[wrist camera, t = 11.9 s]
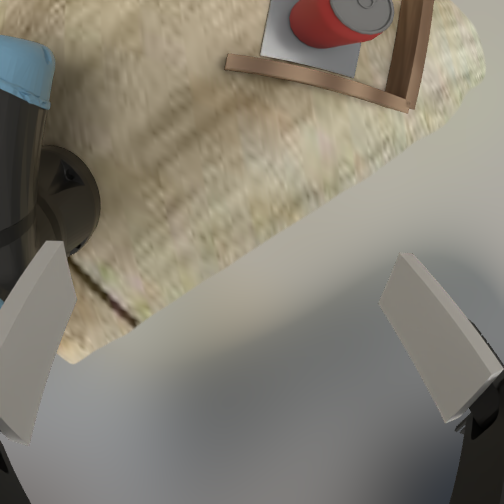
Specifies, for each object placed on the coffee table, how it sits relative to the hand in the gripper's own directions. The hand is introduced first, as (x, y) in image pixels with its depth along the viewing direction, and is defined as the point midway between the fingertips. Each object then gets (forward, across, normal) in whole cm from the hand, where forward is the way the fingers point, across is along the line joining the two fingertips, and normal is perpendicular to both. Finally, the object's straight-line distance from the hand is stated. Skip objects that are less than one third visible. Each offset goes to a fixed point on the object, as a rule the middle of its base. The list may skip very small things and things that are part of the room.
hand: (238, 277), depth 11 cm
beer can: (+26, +9, +15) cm, 31 cm away
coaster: (+26, +9, +15) cm, 31 cm away
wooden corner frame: (+26, +11, +15) cm, 32 cm away
